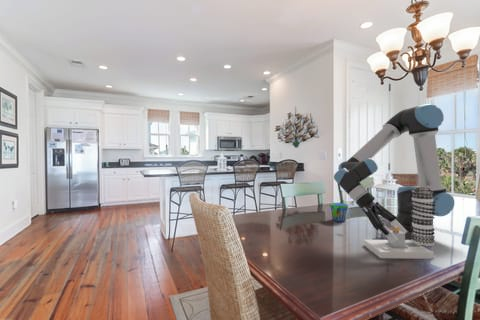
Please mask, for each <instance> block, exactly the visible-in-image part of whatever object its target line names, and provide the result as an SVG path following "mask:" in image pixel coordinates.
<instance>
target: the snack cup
mask: <svg viewBox="0 0 480 320" xmlns="http://www.w3.org/2000/svg"><path fill="white" fill-rule="evenodd" d="M329 207H330V211H331V218H332V221H334V222H341V223H342V222H346V220H347V213H348V208H349V205H348V204H347V203H343V202H342V203H341V202H333V203H332V202H331V203H330V204H329Z"/></svg>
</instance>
